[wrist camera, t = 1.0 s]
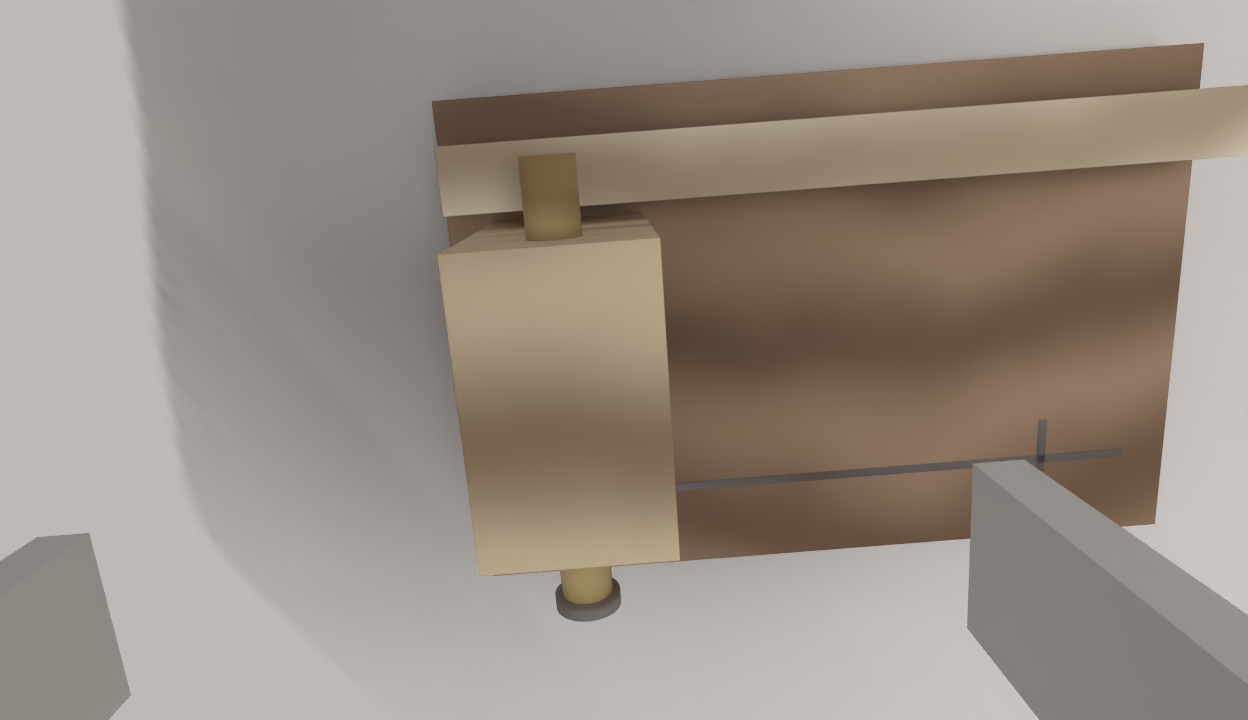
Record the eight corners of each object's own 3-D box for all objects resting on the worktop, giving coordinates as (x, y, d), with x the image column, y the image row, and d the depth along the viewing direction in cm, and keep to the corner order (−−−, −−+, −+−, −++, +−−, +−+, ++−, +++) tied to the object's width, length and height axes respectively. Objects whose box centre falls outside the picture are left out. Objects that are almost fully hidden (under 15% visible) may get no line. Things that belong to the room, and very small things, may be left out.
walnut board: (444, 105, 27) (409, 93, 22) (1161, 51, 27) (1281, 28, 23) (499, 550, 31) (480, 621, 27) (1120, 501, 32) (1214, 563, 27)
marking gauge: (485, 161, 26) (425, 162, 17) (637, 150, 26) (654, 145, 17) (524, 504, 29) (489, 653, 20) (660, 493, 29) (684, 638, 20)
